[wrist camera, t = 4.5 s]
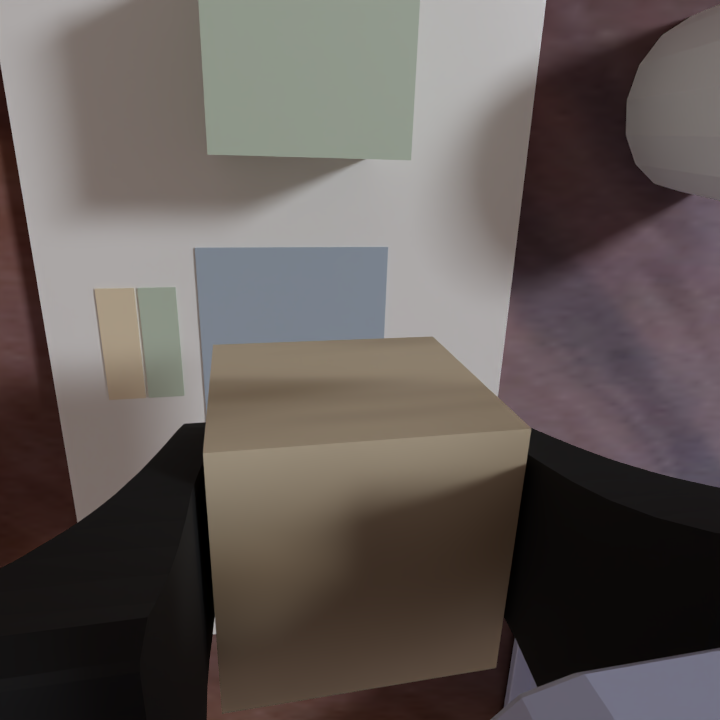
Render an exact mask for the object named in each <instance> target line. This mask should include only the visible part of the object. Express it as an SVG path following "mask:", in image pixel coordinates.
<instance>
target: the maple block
mask: <svg viewBox="0 0 720 720" xmlns="http://www.w3.org/2000/svg"><path fill="white" fill-rule="evenodd" d="M530 435H531V428H530V427H529V426H528V425H527V424H526V423H525V422H524V421H523V420H522V419H521V418H519V417H518V416H517V415H516V414H515V413H514V412H513V411H512V410H511V409H510V408H509V407H508V406H507V405H506V404H504V403H503V402H502V401H501V400H500V399H499V398H498V397H497V396H496V395H495V394H494V393H493V392H492V391H491V390H489V389H488V388H487V387H486V386H485V385H484V384H483V383H482V382H481V381H480V380H479V379H478V378H477V377H476V376H475V375H473V374H472V373H471V372H470V371H469V370H468V369H467V368H466V367H465V366H464V365H463V364H462V363H461V362H460V361H458V360H457V359H456V358H455V357H454V356H453V355H452V354H451V353H450V352H449V351H448V350H447V349H446V348H445V347H444V346H442V345H441V344H440V343H439V342H438V341H437V340H436V339H435V338H434V337H407V338H380V339H353V340H327V341H300V342H273V343H246V344H220V345H213V350H212V361H211V372H210V382H209V393H208V404H207V414H206V425H205V436H204V446H203V462H204V476H205V489H206V503H207V516H208V530H209V543H210V557H211V570H212V584H213V597H214V611H215V624H216V638H217V651H218V665H219V678H220V692H221V705H222V714H223V713H229V712H235V711H241V710H247V709H253V708H259V707H265V706H271V705H277V704H283V703H289V702H295V701H301V700H307V699H313V698H319V697H325V696H331V695H337V694H343V693H349V692H355V691H361V690H367V689H373V688H379V687H385V686H391V685H397V684H403V683H409V682H415V681H421V680H427V679H433V678H439V677H445V676H451V675H457V674H463V673H469V672H475V671H481V670H487V669H493V668H496V665H497V658H498V652H499V645H500V638H501V631H502V624H503V618H504V611H505V604H506V597H507V591H508V584H509V577H510V570H511V564H512V557H513V550H514V543H515V536H516V530H517V523H518V516H519V509H520V503H521V496H522V489H523V482H524V475H525V469H526V462H527V455H528V448H529V442H530Z"/></svg>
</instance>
